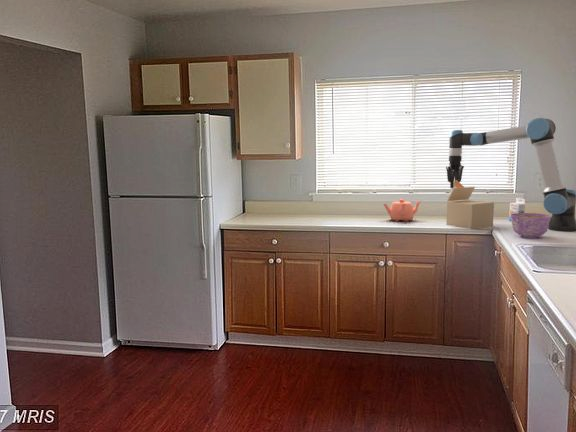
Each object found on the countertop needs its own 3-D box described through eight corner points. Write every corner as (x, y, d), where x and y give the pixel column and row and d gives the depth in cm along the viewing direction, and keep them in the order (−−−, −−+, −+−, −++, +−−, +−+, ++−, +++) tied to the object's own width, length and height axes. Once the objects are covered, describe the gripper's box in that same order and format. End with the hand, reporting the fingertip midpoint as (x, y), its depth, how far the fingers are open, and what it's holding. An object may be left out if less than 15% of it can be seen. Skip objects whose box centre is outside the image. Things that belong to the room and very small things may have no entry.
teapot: (421, 220, 351) (422, 199, 349) (404, 223, 339) (404, 201, 337) (399, 217, 365) (399, 197, 363) (381, 220, 353) (381, 199, 351)
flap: (475, 187, 334) (466, 179, 340) (454, 188, 326) (445, 180, 332) (468, 199, 340) (460, 191, 346) (447, 201, 332) (439, 192, 337)
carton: (492, 226, 325) (494, 202, 323) (471, 228, 316) (472, 204, 314) (467, 222, 342) (468, 199, 340) (446, 224, 334) (447, 201, 332)
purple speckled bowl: (505, 237, 286) (506, 216, 285) (513, 232, 303) (514, 212, 301) (546, 241, 275) (548, 219, 274) (552, 235, 292) (554, 214, 290)
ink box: (508, 220, 346) (509, 197, 344) (515, 220, 348) (516, 197, 346) (517, 222, 338) (519, 199, 336) (524, 222, 340) (525, 198, 338)
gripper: (459, 154, 342) (458, 192, 345) (442, 155, 335) (440, 193, 338) (468, 155, 335) (467, 192, 339) (450, 155, 329) (449, 194, 332)
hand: (454, 193), depth 338 cm, fingers closed on flap, 2 cm apart
